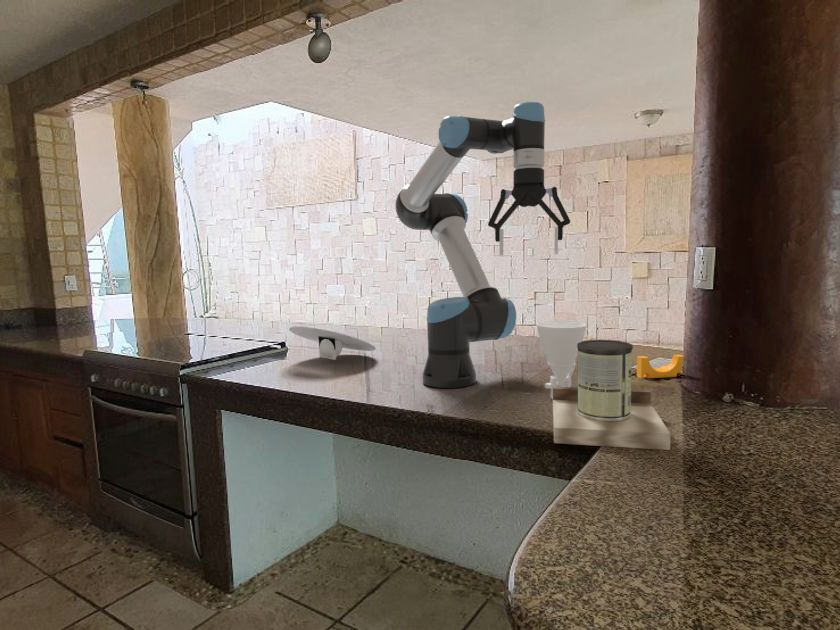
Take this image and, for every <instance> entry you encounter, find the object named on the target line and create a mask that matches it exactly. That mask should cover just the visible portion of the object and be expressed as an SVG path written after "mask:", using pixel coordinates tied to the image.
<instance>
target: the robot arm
mask: <svg viewBox="0 0 840 630" xmlns="http://www.w3.org/2000/svg"><path fill="white" fill-rule="evenodd" d="M545 122H546V118H545V106H544V105H543V104H542V103H540V102H537V101H526V102H519V103H518V104H516V105H515V106H514V107H513V112H512V117H511V118H509V119H505V120H497V119H489V118H488V119H486V118H476V117H470V116H463V115H447V116H446V117H444V118H443V119H442V120H441V122H440V125H439V127H438V140H439V141H438V143H437V145H435V148H433V150H432V152H431V153H430V155H429V156H428V157H427V158H426V160H425V161H424V163H423V164H422V165H421V167H420V169H419V170H418V172H417V173H416V174H415V176H414V177H413V179H412V180H411V181H410V183H409V184H406V185H404V186H403V187H402V189H401V190H400V191H399V193H398V195H397V198H396V200H395V213H396V215H397V217H398V219H399V220H400V222H401V223H402V224H403V225H404V226H405V227H407V228H409V229H411V230H415V231H416V230H417V231H429V232H430V233H431V236H432V238H433V239H434V240H435V241H438V242H439V243H440V247H442V248H441V249H442V250H443V252H444V255H445V258H446V259H447V261H448V264H449V266H450V268H451V271H452V274H453V276H454V278H455V281H456V282H457V285H458V287H459V290H460V292H461V294H462V296H454V297H445V298H441V299H437V300H434V301H432V302H431V303H429V304H428V306H427V309H426V310H427V312H426V314H427V315H426V322H427V324H426V325H427V326H426V327H427V353H428V354H427V358H426V361H425V365H424V368H423V372H422V383H423V384H425V385H426V386H429V387H433V388H441V389H442V388H443V389H445V388H446V389H448V388H449V389H451V388H452V389H453V388H455V389H456V388H464V387H469V386H472V385H474V384H476V382H477V371H476V370H475V369H476V368H475V366H474V363H473V360H472V357H471V354H470V345H471V343H477V342H484V341H497V340H500V339H504V338H507V337H509V336H510V335H511V334H512V333H513V331H514V329H515V327H516V325H517V324H516V322H517V310H516V307H515V304H514V302H513V301H512V300H511V299H508V298H506V297H503V298H502V296H501V294H500V292H499V290H498V289H497V288H496V287H494V286H491V285H490V283H489V281H488V279H487V277H486V275H485V272H484V270H483V268H482V265H481V263H480V261H479V259H478V257H477V255H476V253H475V251H474V248H473V247H472V246H473V245H472V244H471V242H470V240H469V238H468V236H467V234H466V233H467V232H466V231H465V229H466V226H467V222H468V219H469V218H468V217H469V214H468V213H467V212H468V206H467V203H466V202H465V200H464V199H463V197H461V196H460V195H458V194H455V193H454V194H453V193H436V192H438V190H439V189H440V187H441V186H442V185H443V184H444V182H445V181H446V180H447V178H448V177H449V175H451V174H452V172H453V171H454V170H455V168H456V167H457V165H458V164H459V163H460V162H461V161H462V160H463V158H464V156H466V154H467V153H469V150H480V151H482V150H483V151H487V152H488V153H490V154H491V155H495V154H504V153H506V152H508V151H513V168H514V170H513V185H512V187H513V189H512V190H509V189H505V188H503V189H501V190H500V197H499V200H498V201H497V204H496V206H495V208H494V210H493V212H492V215H491V216H490V219H489V221H488V222H487V226H488V227H489V228H493V229H494V233H495V235H494V238H495V239H494V240H495V242H496V243H497V242H498V243H499V255H500V256H503V255H504V228H503V229H502V227H503V226H504V224H505V223H506V222H507V220H508V219H509V217H511V216H512V214H513V213H514V212H515V211H516V210H517V208H518V207H519V206H520V207H521V208H526V207H530V208H531V207H532V208H533V207H534V208H536V207H537V206H538V205H539V206H540V208H541V209H542V210H543V211H544V212H545V213H546V214H547V215H548V217H549V218H550V220H552V221H553V222H554V224H556V227H555V226H554V255H558V253H559V248H558V247H559V241H562V240H563V238H564V236H563V235H564V234H563V233H564V231H563V230H564V227H565V226H567V225H570V223H571V219H570V217H569V216H568V213H567V211H566V209H565V207H564V205H563V203H562V202H561V200H560V197H559V196H558V189H557V187H556V186H552V187H551V188H550V187H549V188H546V187H545V169H544V168H543V167H544V166H545V128H546V127H545V125H546V123H545ZM546 194H547V195H548V196H549V197H550V198H552V199H553V202H554V204H555V206H556V208H557V210H558V211H559V214H560V215H561V217H562V219H563V220H562V221H561V220H560V219H559V217H558V216H557V215H556V214H555V212H553V211H552V210H551V208H550V207H549V206H548V205H547V203H546V202H545V201H544V200H543V198H544V197H545V196H546ZM510 196H512V197H513V199H514V201H513V203H511V205H510V207H509V208H508V209H507V211H505V212H504V214H503V215H502V217H501V218H500V219H499V220H498V222H497V223H496V221H497V219H498V217H499V215H500V213H501V211H502V208H503V206H504V204H505V202H506V200H507V199H509V197H510Z"/></svg>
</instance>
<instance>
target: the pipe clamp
mask: <svg viewBox="0 0 840 630" xmlns="http://www.w3.org/2000/svg"><path fill="white" fill-rule="evenodd" d="M683 356H684V355H682V354H673V355H672V359H671V360H670V363H669V364H664V365H662V366H659V367H658V368H657V367H655V368H654V367H653V366H652V365H651V363H650V358H649V357H648V356H646V355H637V357H636V377H637V378H639V379H641V380H642V379H655V378H656V379H657V378H658V379H659V378H674V377H678V376H680V375H681V371H682V363H683ZM677 374H678V375H677ZM680 377H681V376H680Z"/></svg>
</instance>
